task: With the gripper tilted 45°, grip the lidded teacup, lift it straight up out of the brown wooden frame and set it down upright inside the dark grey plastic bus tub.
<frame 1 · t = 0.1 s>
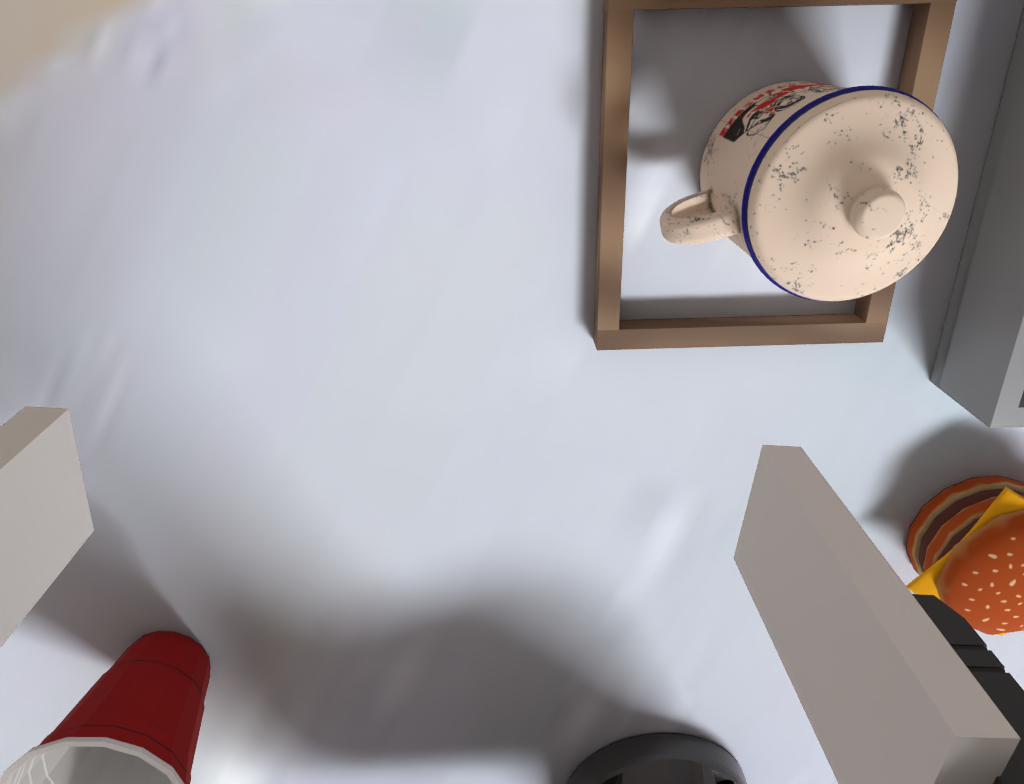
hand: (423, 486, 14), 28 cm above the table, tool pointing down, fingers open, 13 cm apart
teacup with lid: (750, 175, 40), resting in brown wooden frame
brown wooden frame: (751, 175, 39), on the table
plastic cup: (173, 656, 53), on the table
hamburger: (968, 528, 50), on the table
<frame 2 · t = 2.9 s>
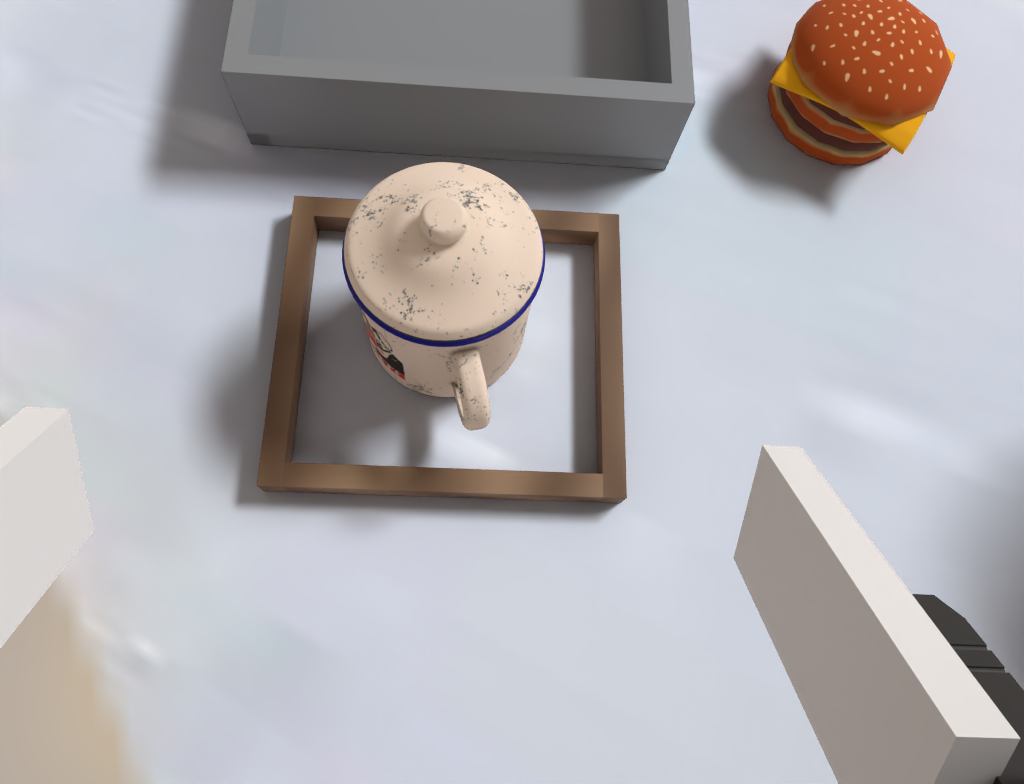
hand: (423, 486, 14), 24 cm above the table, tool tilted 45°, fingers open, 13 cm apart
teacup with lid: (452, 351, 41), resting in brown wooden frame
brown wooden frame: (452, 349, 41), on the table
hamburger: (833, 111, 48), on the table
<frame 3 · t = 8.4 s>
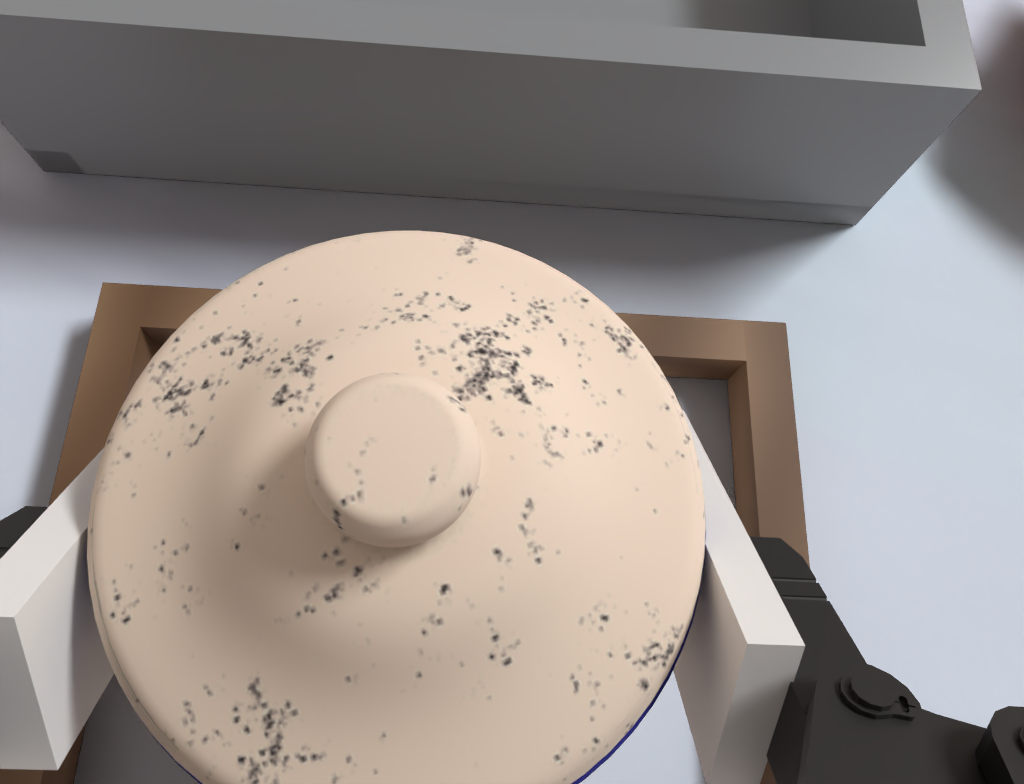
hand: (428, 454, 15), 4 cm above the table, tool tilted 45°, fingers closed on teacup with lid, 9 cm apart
teacup with lid: (438, 620, 19), resting in brown wooden frame, touching gripper
brown wooden frame: (433, 622, 19), on the table
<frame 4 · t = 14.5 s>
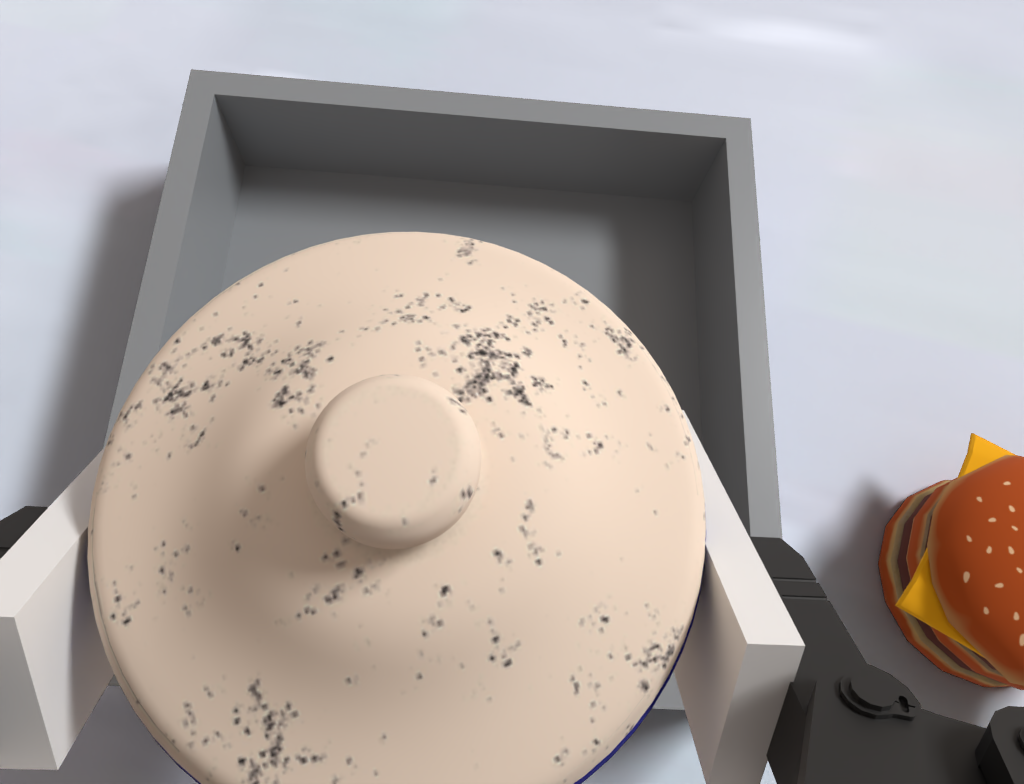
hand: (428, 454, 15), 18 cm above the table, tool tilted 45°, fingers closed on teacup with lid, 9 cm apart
teacup with lid: (438, 621, 19), point 13 cm above the table, touching gripper
hamburger: (970, 582, 34), on the table
bus tub: (457, 401, 34), on the table
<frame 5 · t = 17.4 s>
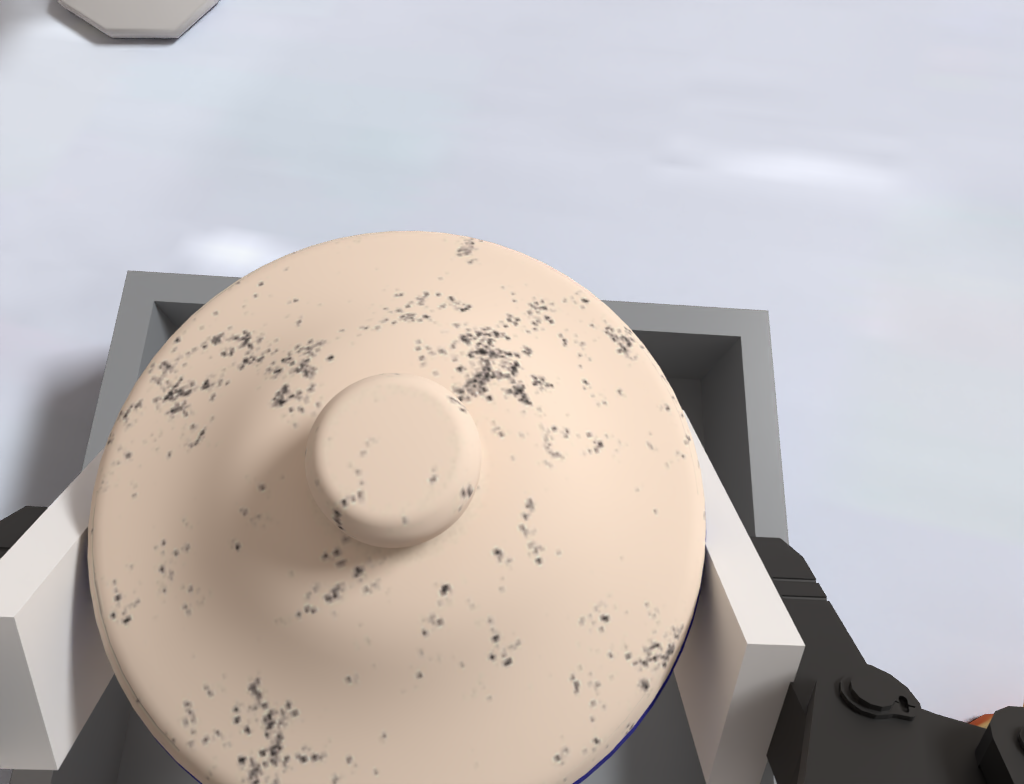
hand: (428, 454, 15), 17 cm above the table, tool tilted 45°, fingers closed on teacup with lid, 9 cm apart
teacup with lid: (438, 620, 19), point 12 cm above the table, touching gripper
bus tub: (438, 629, 30), on the table
when the fingers open (7 cm above the table, at t = 20.3 s): teacup with lid drops 1 cm, resting on bus tub.
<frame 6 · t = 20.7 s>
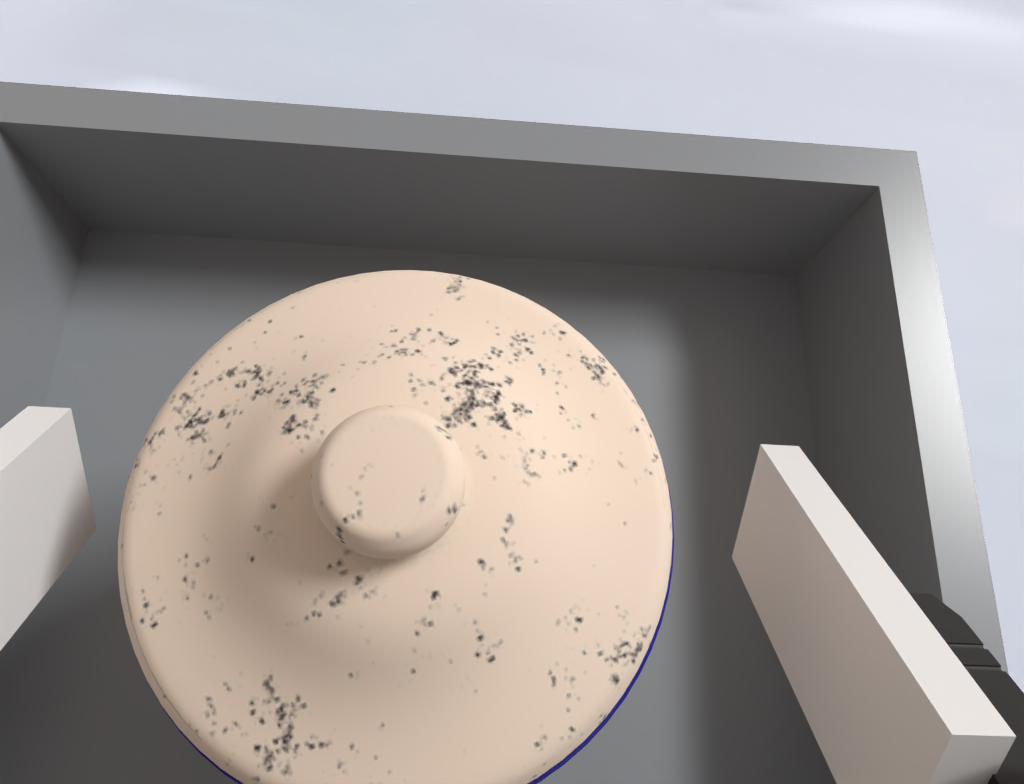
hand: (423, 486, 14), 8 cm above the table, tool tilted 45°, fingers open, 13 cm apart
teacup with lid: (437, 625, 20), point 1 cm above the table, touching bus tub
bus tub: (428, 624, 21), on the table
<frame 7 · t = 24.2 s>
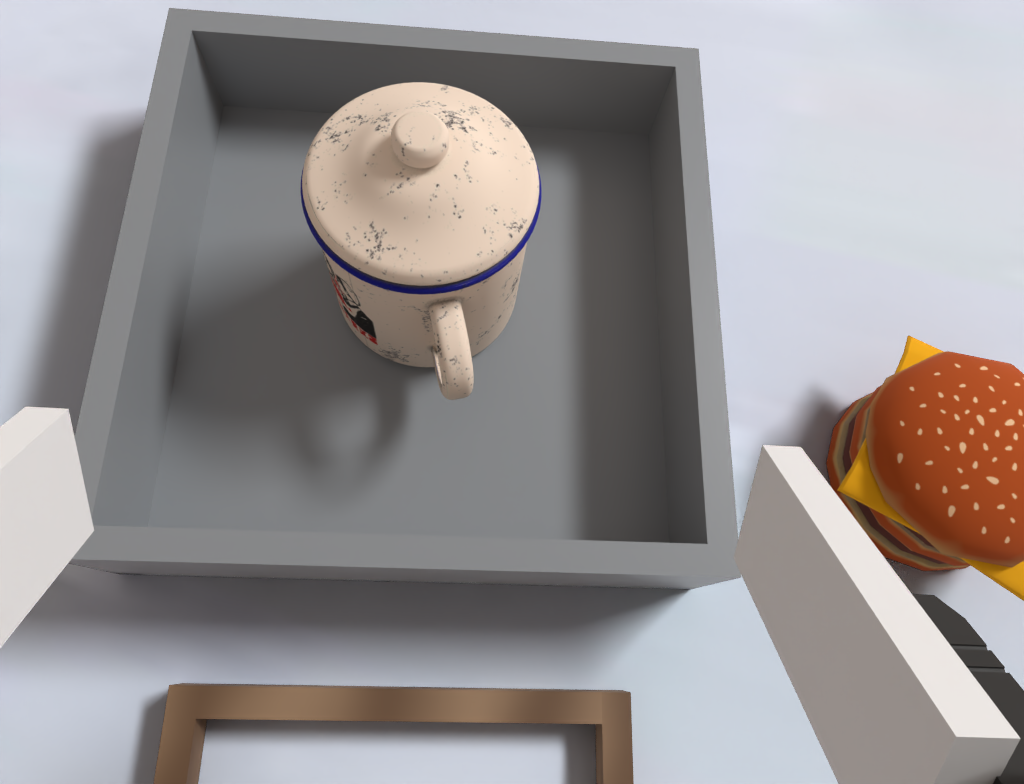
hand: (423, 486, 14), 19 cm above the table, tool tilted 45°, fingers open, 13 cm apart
teacup with lid: (433, 316, 36), point 1 cm above the table, touching bus tub
hamburger: (912, 479, 36), on the table
bus tub: (429, 322, 37), on the table
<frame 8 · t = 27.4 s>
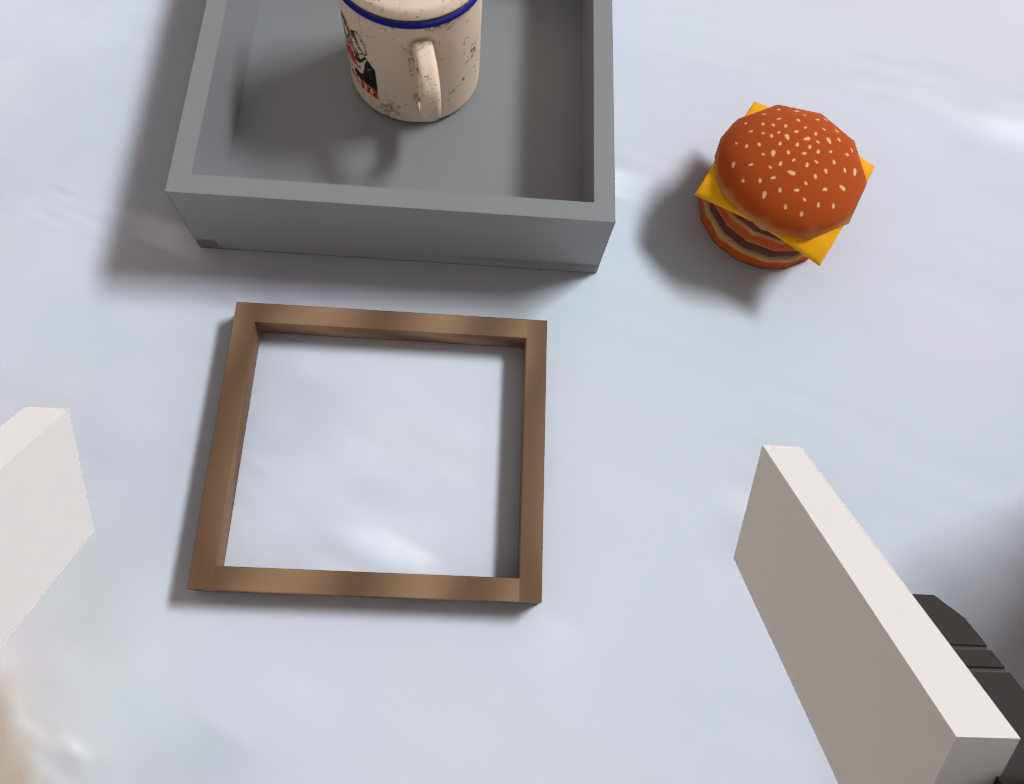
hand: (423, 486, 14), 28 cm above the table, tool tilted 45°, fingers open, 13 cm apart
teacup with lid: (419, 92, 50), point 1 cm above the table, touching bus tub
brown wooden frame: (383, 450, 43), on the table
hamburger: (762, 213, 50), on the table
bus tub: (416, 99, 51), on the table
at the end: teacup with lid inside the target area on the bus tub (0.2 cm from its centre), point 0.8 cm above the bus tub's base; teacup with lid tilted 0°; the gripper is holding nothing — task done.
